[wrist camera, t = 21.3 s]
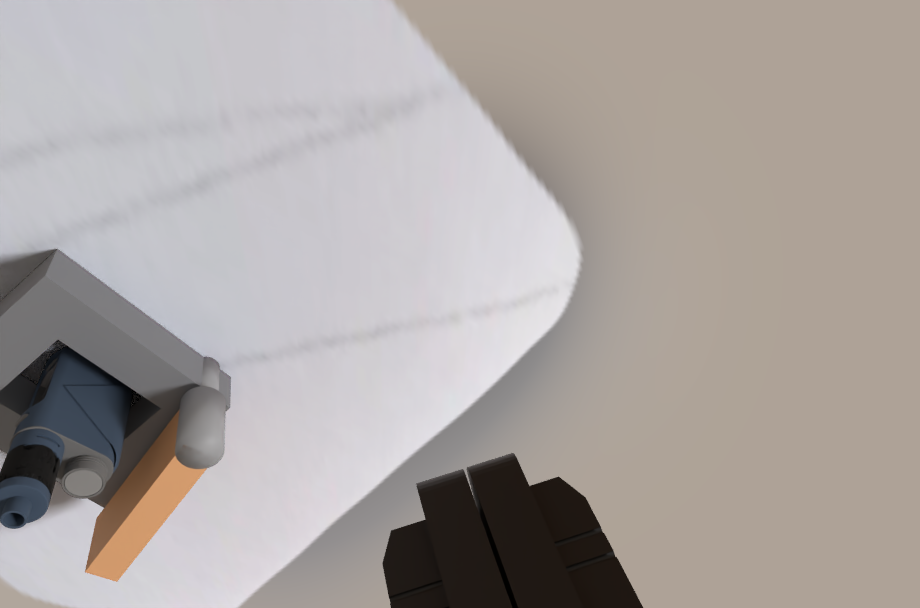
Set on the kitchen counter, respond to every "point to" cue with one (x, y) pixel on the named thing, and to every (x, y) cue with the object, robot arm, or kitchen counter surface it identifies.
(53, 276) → the socket block
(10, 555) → the kitchen counter surface
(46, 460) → the vaping device
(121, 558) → the orange bar
